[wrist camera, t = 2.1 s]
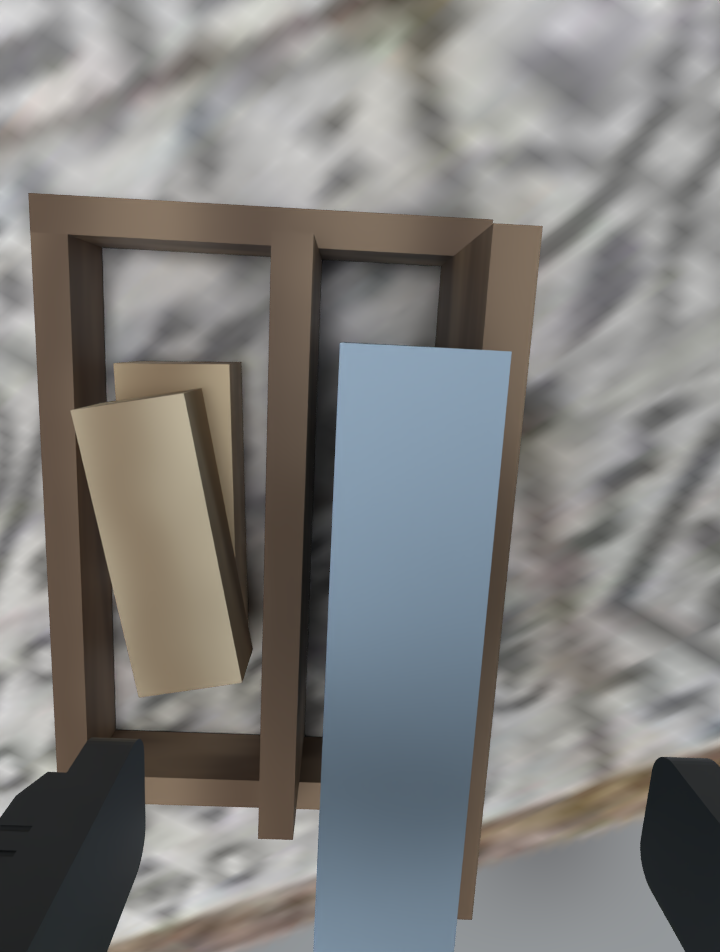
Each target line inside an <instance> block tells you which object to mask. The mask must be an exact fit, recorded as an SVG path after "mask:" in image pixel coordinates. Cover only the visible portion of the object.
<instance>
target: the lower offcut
mask: <svg viewBox="0 0 720 952" xmlns="http://www.w3.org/2000/svg"><path fill="white" fill-rule="evenodd" d="M113 364H114V379H115V394H116V401H118V400H125V399H131V398H138V397H145V396H151V395H158V394H165V393H171V392H178V391H185V390H191V389H198V388H202V392H203V397H204V402H205V408H206V413H207V418H208V423H209V428H210V433H211V438H212V443H213V448H214V454H215V459H216V464H217V469H218V474H219V479H220V484H221V489H222V494H223V500H224V505H225V510H226V515H227V520H228V525H229V530H230V535H231V541H232V546H233V551H234V556H235V561H236V566H237V571H238V576H239V581H240V587H241V592H242V597H243V602H244V607H245V612H246V617H247V622H248V595H247V558H246V521H245V484H244V447H243V410H242V373H241V362H178V361H133V362H122V363H113ZM134 680H135V679H134Z"/></svg>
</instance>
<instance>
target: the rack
mask: <svg viewBox="0 0 720 952" xmlns="http://www.w3.org/2000/svg"><path fill="white" fill-rule="evenodd" d="M29 213H30V233H31V254H32V274H33V294H34V314H35V334H36V355H37V375H38V395H39V415H40V435H41V455H42V476H43V496H44V516H45V536H46V556H47V576H48V597H49V617H50V637H51V657H52V677H53V698H54V718H55V738H56V758H57V772H64V773H67V771H68V770H69V768H70V767H71V765H72V764H73V762H74V760H75V759H76V757H77V756H78V754H79V753H80V751H81V749H82V748H83V746H84V745H85V743H86V742H87V741H88V740H89V739H90V738H92V737H96V738H128V739H141V740H142V742H143V745H144V761H145V804H159V805H191V806H222V807H254V808H259V824H258V839H284V840H293V834H294V825H295V816H296V809H317V810H320V790H321V767H322V744H323V737H304V732H305V705H306V678H307V651H308V624H309V597H310V570H311V543H312V516H313V489H314V462H315V435H316V408H317V381H318V354H319V327H320V300H321V273H322V260H339V261H357V262H375V263H393V264H411V265H429V266H441V275H440V288H439V302H438V316H437V330H436V343H435V347H441V348H458V349H475V350H493V351H510V352H512V354H511V364H510V375H509V385H508V395H507V406H506V416H505V427H504V437H503V447H502V458H501V468H500V478H499V489H498V499H497V510H496V520H495V530H494V541H493V551H492V562H491V572H490V582H489V593H488V603H487V613H486V624H485V634H484V645H483V655H482V665H481V676H480V686H479V697H478V707H477V717H476V728H475V738H474V748H473V759H472V769H471V780H470V790H469V800H468V811H467V821H466V831H465V842H464V852H463V863H462V873H461V883H460V894H459V904H458V915H457V919H464V920H472V914H473V905H474V894H475V884H476V875H477V865H478V856H479V846H480V836H481V826H482V816H483V806H484V797H485V787H486V777H487V767H488V757H489V748H490V738H491V728H492V718H493V708H494V699H495V689H496V679H497V669H498V659H499V649H500V640H501V630H502V620H503V610H504V600H505V591H506V581H507V571H508V561H509V551H510V542H511V532H512V522H513V512H514V502H515V493H516V483H517V473H518V463H519V453H520V443H521V434H522V424H523V414H524V404H525V394H526V385H527V375H528V365H529V355H530V345H531V336H532V326H533V316H534V306H535V296H536V287H537V277H538V267H539V257H540V247H541V237H542V228H543V226H530V225H513V224H495V223H493V220H490V219H473V218H455V217H438V216H420V215H403V214H385V213H368V212H351V211H333V210H316V209H298V208H281V207H263V206H246V205H229V204H211V203H194V202H176V201H159V200H141V199H124V198H106V197H89V196H72V195H54V194H37V193H29ZM102 247H103V248H121V249H139V250H158V251H176V252H194V253H212V254H230V255H248V256H266V257H271V274H270V320H269V366H268V412H267V457H266V503H265V549H264V595H263V641H262V687H261V733H260V735H244V734H215V733H187V732H158V731H129V730H116V726H115V691H114V656H113V621H112V586H111V578H110V574H109V570H108V566H107V562H106V557H105V553H104V549H103V545H102V541H101V536H100V532H99V528H98V524H97V520H96V515H95V511H94V507H93V503H92V499H91V494H90V490H89V486H88V482H87V478H86V473H85V469H84V465H83V461H82V457H81V452H80V448H79V444H78V440H77V436H76V431H75V427H74V423H73V419H72V415H71V410H74V409H78V408H82V407H86V406H91V405H95V404H99V403H105V402H106V376H105V341H104V306H103V271H102Z"/></svg>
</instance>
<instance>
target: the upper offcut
mask: <svg viewBox="0 0 720 952" xmlns="http://www.w3.org/2000/svg"><path fill="white" fill-rule="evenodd" d="M71 415H72V419H73V423H74V427H75V431H76V436H77V440H78V444H79V448H80V452H81V457H82V461H83V465H84V469H85V473H86V478H87V482H88V486H89V490H90V494H91V499H92V503H93V507H94V511H95V515H96V520H97V524H98V528H99V532H100V536H101V541H102V545H103V549H104V553H105V557H106V562H107V566H108V570H109V574H110V578H111V583H112V587H113V591H114V595H115V599H116V604H117V608H118V612H119V616H120V620H121V625H122V629H123V633H124V637H125V641H126V646H127V650H128V654H129V658H130V662H131V667H132V671H133V675H134V679H135V683H136V688H137V692H138V696H139V697H146V696H153V695H160V694H167V693H174V692H181V691H188V690H195V689H202V688H209V687H216V686H223V685H230V684H237V683H242V681H243V678H244V675H245V672H246V669H247V666H248V662H249V659H250V656H251V653H252V650H253V648H252V643H251V638H250V633H249V627H248V622H247V617H246V612H245V607H244V602H243V597H242V592H241V587H240V581H239V576H238V571H237V566H236V561H235V556H234V551H233V546H232V541H231V535H230V530H229V525H228V520H227V515H226V510H225V505H224V500H223V494H222V489H221V484H220V479H219V474H218V469H217V464H216V459H215V454H214V448H213V443H212V438H211V433H210V428H209V423H208V418H207V413H206V408H205V402H204V397H203V392H202V388H198V389H191V390H185V391H178V392H171V393H165V394H158V395H151V396H145V397H138V398H131V399H125V400H118V401H111V402H105V403H99V404H95V405H91V406H86V407H82V408H78V409H74V410H71Z"/></svg>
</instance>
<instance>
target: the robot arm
mask: <svg viewBox="0 0 720 952" xmlns="http://www.w3.org/2000/svg"><path fill="white" fill-rule="evenodd" d="M144 839H145V761H144V745H143V742H142V740H141V739H128V738H96V737H92V738H90V739H89V740H88V741H87V742H86V743H85V745H84V746H83V748H82V749H81V751H80V753H79V754H78V756H77V757H76V759H75V760H74V762H73V764H72V765H71V767H70V768H69V770H68V771H67V773H64V772H47V773H46V774H44V775H43V776H42V777H40V778H39V779H38V780H36V781H35V782H34V783H32V784H31V785H30V786H28V787H27V788H26V789H24V790H23V791H22V792H20V793H19V794H18V795H16V796H15V798H14V799H13V801H12V802H11V803H10V805H9V806H8V808H7V809H6V810H5V812H4V813H3V815H2V816H1V817H0V952H107V950H108V947H109V945H110V942H111V940H112V937H113V935H114V932H115V929H116V927H117V924H118V922H119V919H120V916H121V914H122V911H123V909H124V906H125V903H126V901H127V898H128V896H129V893H130V890H131V888H132V885H133V883H134V880H135V878H136V875H137V872H138V869H139V865H140V861H141V857H142V852H143V846H144ZM640 844H641V845H640V846H641V847H640V851H641V861H642V867H643V871H644V874H645V878H646V881H647V883H648V885H649V887H650V889H651V891H652V893H653V895H654V896H655V898H656V900H657V902H658V904H659V906H660V907H661V909H662V911H663V913H664V915H665V916H666V918H667V920H668V921H669V923H670V925H671V927H672V929H673V931H674V932H675V934H676V936H677V938H678V939H679V941H680V943H681V945H682V947H683V948H684V950H685V952H720V767H719V766H718V765H717V764H716V763H715V762H714V761H713V760H711V759H708V758H677V757H660V758H658V759H657V760H656V761H655V763H654V766H653V769H652V774H651V780H650V787H649V793H648V799H647V805H646V811H645V817H644V823H643V829H642V836H641V843H640Z"/></svg>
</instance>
